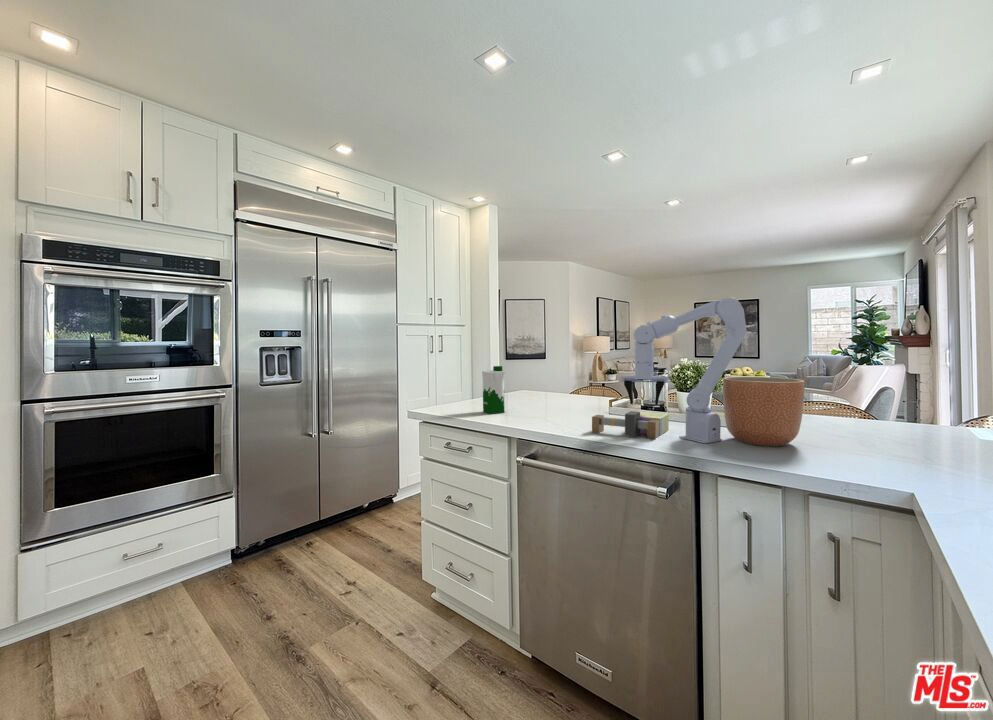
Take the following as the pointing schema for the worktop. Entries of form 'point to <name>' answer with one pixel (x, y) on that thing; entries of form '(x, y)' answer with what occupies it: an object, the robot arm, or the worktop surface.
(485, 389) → the milk carton
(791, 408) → the planter
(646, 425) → the pipe rig
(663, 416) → the box
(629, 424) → the collar
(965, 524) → the worktop surface
